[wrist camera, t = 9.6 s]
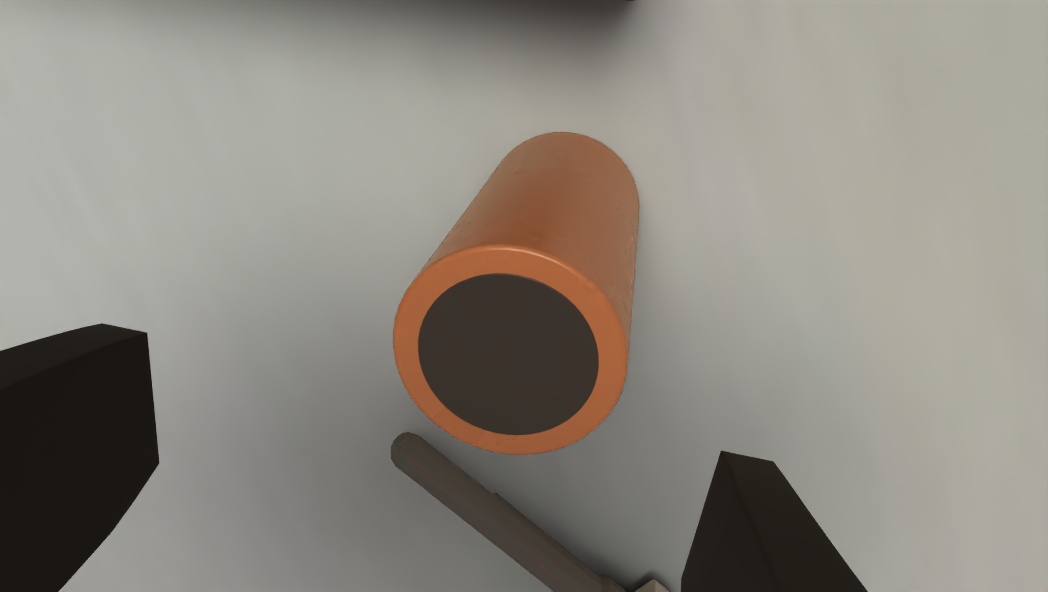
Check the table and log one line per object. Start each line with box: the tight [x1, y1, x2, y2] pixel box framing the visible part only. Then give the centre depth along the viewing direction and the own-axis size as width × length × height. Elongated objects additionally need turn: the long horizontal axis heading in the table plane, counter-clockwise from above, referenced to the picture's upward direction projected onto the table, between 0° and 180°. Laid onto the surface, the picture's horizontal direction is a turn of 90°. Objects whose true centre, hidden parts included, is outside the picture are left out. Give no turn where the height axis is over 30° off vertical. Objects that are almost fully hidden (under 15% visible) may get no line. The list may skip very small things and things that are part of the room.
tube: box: [393, 132, 639, 455], centre depth 14 cm, size 3×3×7 cm
